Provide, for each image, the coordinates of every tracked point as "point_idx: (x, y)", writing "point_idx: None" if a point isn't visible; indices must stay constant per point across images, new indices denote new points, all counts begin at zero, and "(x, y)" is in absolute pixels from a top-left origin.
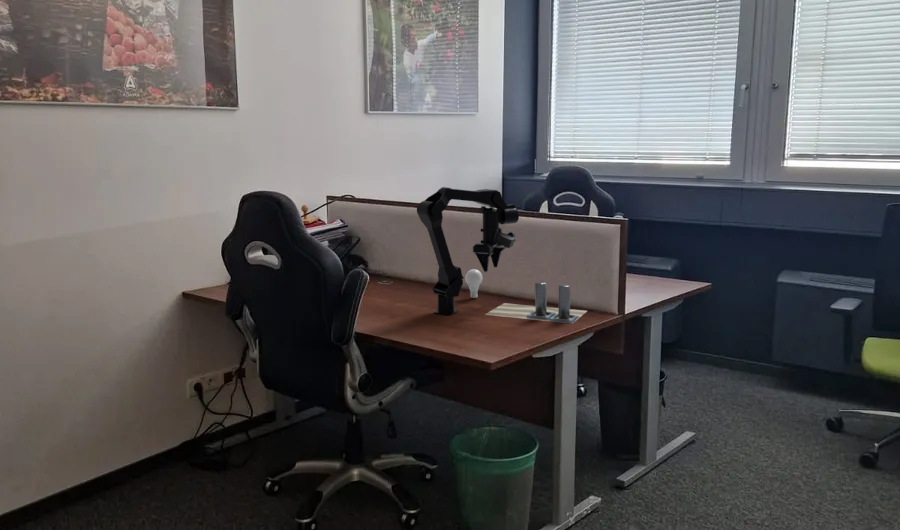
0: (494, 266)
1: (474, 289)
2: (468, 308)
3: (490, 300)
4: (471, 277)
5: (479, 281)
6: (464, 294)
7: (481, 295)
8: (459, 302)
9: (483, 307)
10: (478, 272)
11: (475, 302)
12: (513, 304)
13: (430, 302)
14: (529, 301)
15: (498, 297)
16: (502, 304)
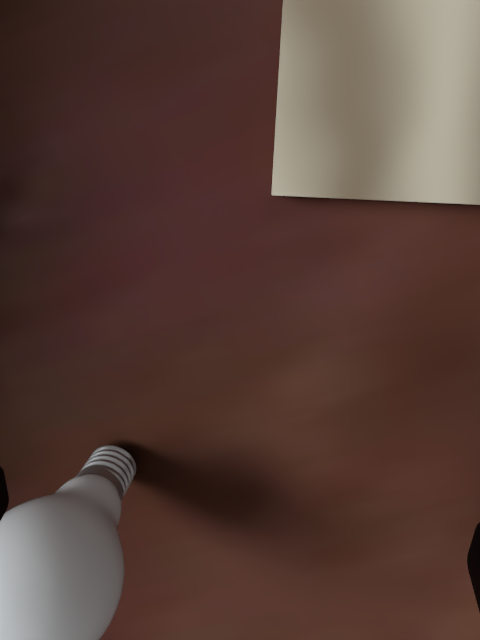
0: (2, 508)
1: (114, 495)
2: (403, 416)
3: (123, 349)
4: (109, 602)
5: (76, 513)
6: None
7: (21, 438)
8: (254, 504)
9: (346, 332)
10: (18, 599)
11: (218, 421)
12: (293, 92)
13: (308, 629)
14: (14, 42)
15: (16, 325)
16: (322, 192)
